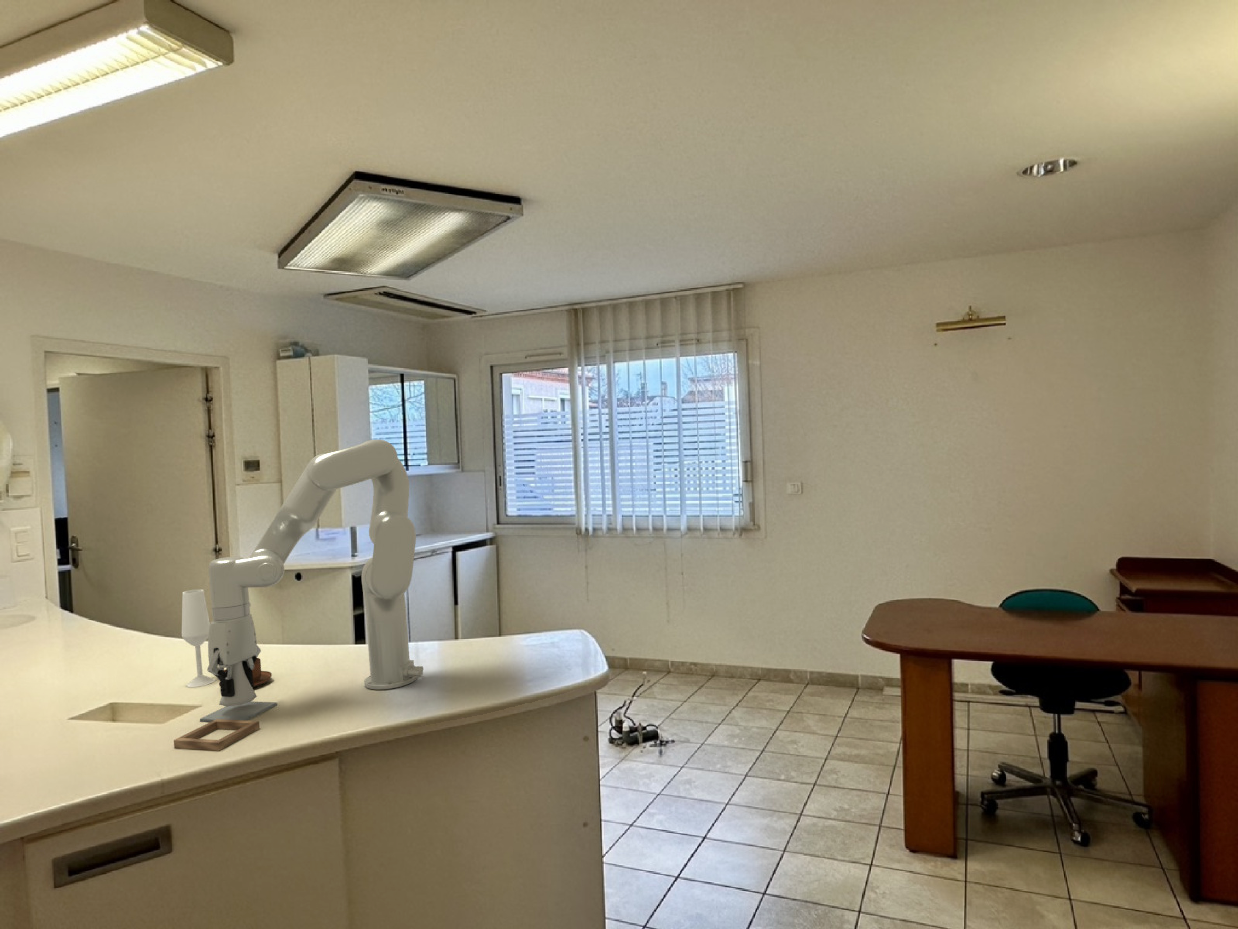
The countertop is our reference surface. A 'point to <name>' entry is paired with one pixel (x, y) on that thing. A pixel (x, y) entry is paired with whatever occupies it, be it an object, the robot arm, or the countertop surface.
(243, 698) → the flask
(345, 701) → the countertop surface
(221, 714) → the slate tile
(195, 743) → the square wooden frame
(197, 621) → the champagne flute
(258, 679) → the cup and saucer
